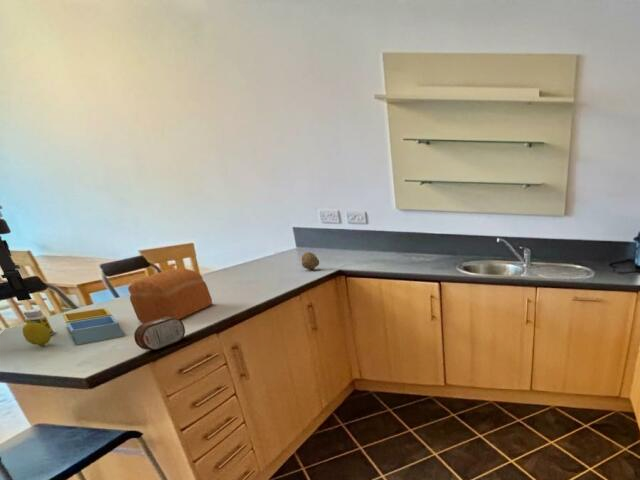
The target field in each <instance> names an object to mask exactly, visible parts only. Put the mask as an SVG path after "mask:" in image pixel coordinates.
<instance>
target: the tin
mask: <svg viewBox="0 0 640 480" xmlns="http://www.w3.org/2000/svg"><path fill="white" fill-rule="evenodd" d="M185 335H186V328H185V325H184V322H183V321H182V320H181V319H177V318H173V317H163V318H160V319H156V320H153V321H150V322H146V323H144V322H142V323H141V324H139V325H138V326H137V328H136V329H135V330H134V334H133V338H134V339H133V340H134V342H135V344H136V346H137V347H139V348H140V349H142V350H146V351H158V350H161V349H163V348H165V347H168V346H171V345H174V344H176V343H179V342H180V341H182V340H183V339H184V337H185Z"/></svg>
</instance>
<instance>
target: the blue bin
mask: <svg viewBox="0 0 640 480" xmlns="http://www.w3.org/2000/svg"><path fill="white" fill-rule="evenodd" d="M66 325H67V327H68V329H69V331H70V334H71V335H72V337H73V339H74V341H75V342H76V345H84V344H89V343H94V342H99V341H104V340H110V339H115V338H121V337H124V336H125V334H124V333H123V332H124V331H123V329H122V328H121V325H120V323H119V322H118V320H117V319H116V318H115V317H114V316H113V315H112V316H107V317H101V318H94V319H88V320H82V321H76V322H70V323H66Z"/></svg>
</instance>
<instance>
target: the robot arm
mask: <svg viewBox="0 0 640 480" xmlns="http://www.w3.org/2000/svg"><path fill="white" fill-rule="evenodd" d="M1 210H3V206H2V205H0V269H1V270H2V272H3V273H2V274H0V276H1V278H2V279H6V281H7V283H8V286H10V288H11V290H12V293H13V294H14V296H15V298H16V300H17V301H18V302H22V301H29V300H32V296H31V294H30V292H29V288H28V286H27V284H26V282H25V281H24V278H23V277H22V274H21V273H20V269H21V267H20V264H16V263H15V262H14V261H13V258H12V253H11V250H10V246H9V243H8V242H7V240H6V239H2V236H1V235H7V234H10V233H12V230H11V229H10V226H9V225H8V223H7V220H5V219H3V217H4V215H3V214H2V213H3V212H2V211H1Z"/></svg>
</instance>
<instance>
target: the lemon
mask: <svg viewBox="0 0 640 480" xmlns="http://www.w3.org/2000/svg"><path fill="white" fill-rule="evenodd" d="M21 331H22V335H23V338H24V339H25V341H27V342H28V343H30V344H32V345H36V346H40V347H45V346H46V344H49V342H51V339H52V335H51V334H50V332H49V330H48V329H47V328H46V327H45V326H44V325H42V324H40V323H35V322H29V323H28V324H27V323H26V324H24V325H23V327H22V329H21Z"/></svg>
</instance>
